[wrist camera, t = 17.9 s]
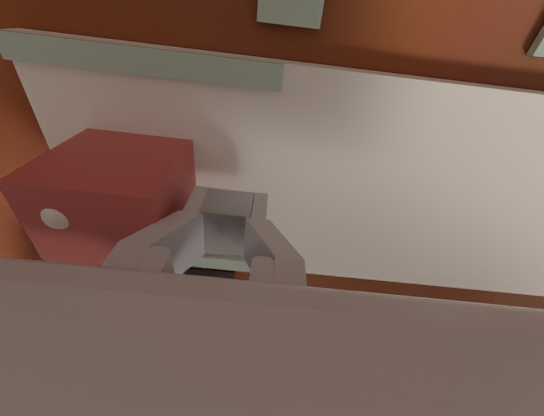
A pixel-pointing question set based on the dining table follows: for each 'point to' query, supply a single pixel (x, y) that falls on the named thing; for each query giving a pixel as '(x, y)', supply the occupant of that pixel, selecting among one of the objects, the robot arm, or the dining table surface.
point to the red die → (99, 191)
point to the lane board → (323, 149)
